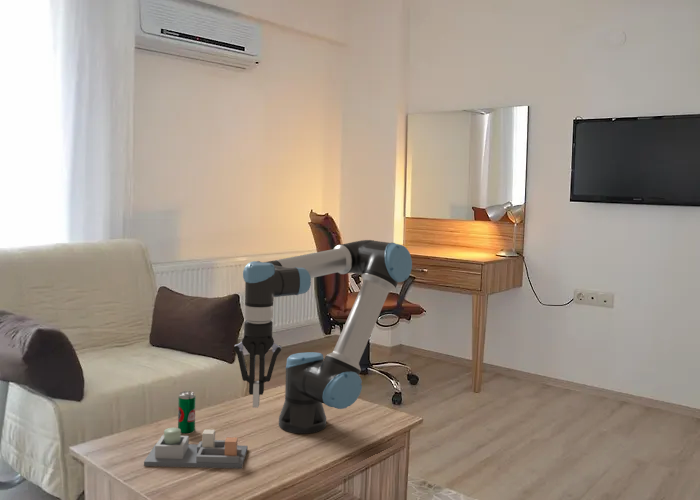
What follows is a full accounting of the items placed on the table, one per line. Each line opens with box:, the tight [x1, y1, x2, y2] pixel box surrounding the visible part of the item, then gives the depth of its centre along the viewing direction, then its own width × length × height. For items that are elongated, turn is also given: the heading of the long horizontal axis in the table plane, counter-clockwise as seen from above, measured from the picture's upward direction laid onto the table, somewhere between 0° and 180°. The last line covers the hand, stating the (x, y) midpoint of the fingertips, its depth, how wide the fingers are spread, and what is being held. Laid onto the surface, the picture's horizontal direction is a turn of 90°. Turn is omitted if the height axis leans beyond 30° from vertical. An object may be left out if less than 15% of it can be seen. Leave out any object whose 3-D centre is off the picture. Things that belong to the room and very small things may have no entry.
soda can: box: [177, 390, 197, 435], centre depth 194 cm, size 5×5×12 cm
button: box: [163, 427, 182, 444], centre depth 176 cm, size 4×4×3 cm
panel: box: [143, 434, 248, 469], centre depth 176 cm, size 26×12×5 cm, turn 92°
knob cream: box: [201, 428, 216, 447], centre depth 179 cm, size 3×3×5 cm
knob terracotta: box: [225, 436, 239, 456], centre depth 174 cm, size 3×3×5 cm
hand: (256, 405), depth 173 cm, fingers closed
